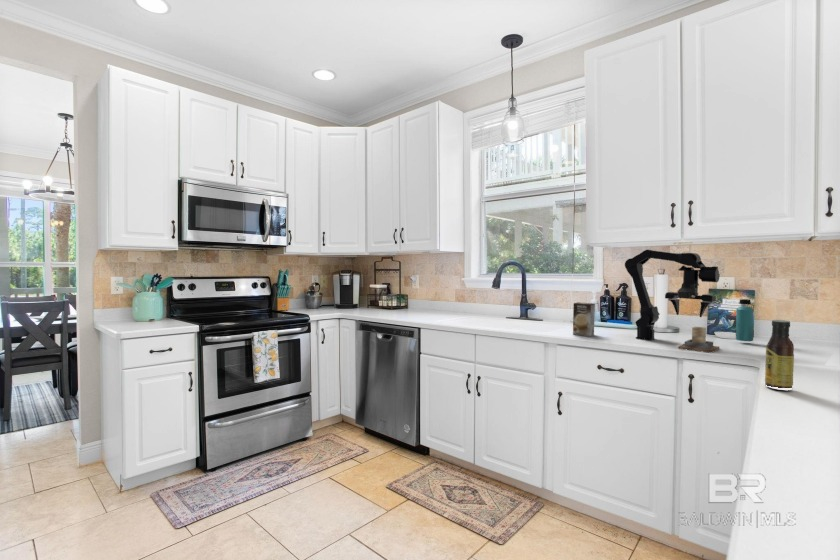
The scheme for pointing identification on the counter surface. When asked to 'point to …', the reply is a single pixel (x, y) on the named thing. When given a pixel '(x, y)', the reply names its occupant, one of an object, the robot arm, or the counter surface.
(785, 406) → the counter surface
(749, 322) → the beverage bottle
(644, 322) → the robot arm
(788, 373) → the sauce bottle
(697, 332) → the maple peg
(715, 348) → the socket holder
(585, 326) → the coffee box
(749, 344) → the counter surface
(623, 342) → the counter surface
